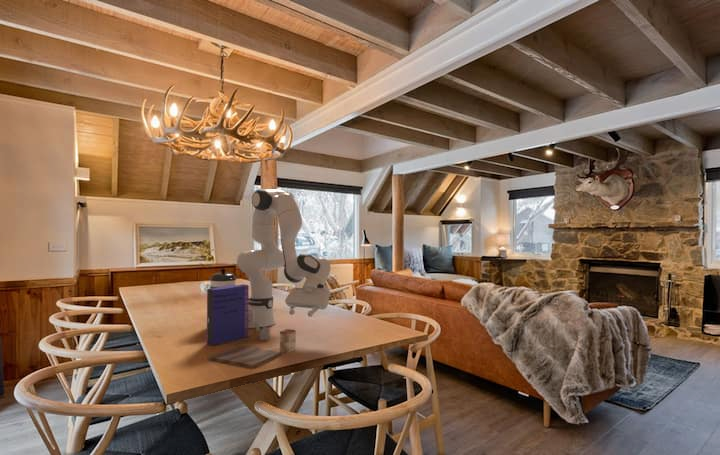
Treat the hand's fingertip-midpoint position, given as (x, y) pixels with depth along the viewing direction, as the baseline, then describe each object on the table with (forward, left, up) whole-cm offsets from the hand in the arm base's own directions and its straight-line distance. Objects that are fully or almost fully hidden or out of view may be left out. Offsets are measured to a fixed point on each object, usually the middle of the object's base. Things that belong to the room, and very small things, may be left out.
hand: (300, 314), depth 160 cm
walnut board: (-10, -23, -13) cm, 28 cm away
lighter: (-20, -1, -13) cm, 24 cm away
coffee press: (-52, +9, -13) cm, 55 cm away
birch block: (0, -9, -13) cm, 15 cm away
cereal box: (-32, -9, -13) cm, 36 cm away
